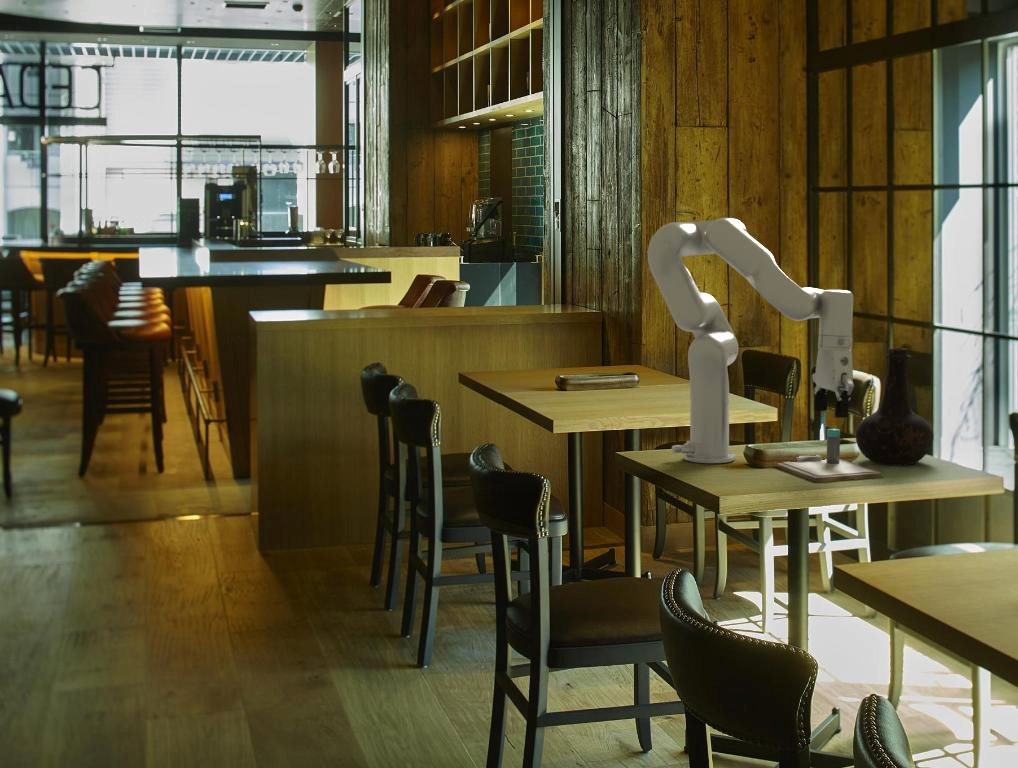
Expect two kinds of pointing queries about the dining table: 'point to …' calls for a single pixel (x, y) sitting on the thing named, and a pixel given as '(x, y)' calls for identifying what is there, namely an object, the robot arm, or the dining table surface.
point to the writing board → (826, 469)
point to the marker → (833, 446)
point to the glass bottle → (895, 421)
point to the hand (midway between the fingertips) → (830, 413)
